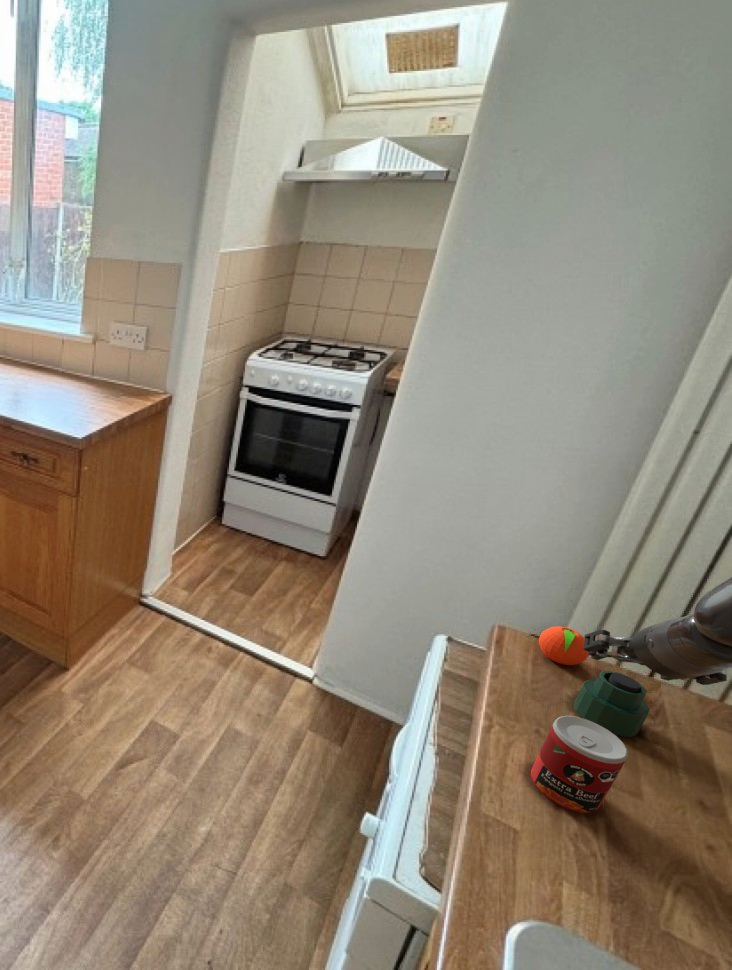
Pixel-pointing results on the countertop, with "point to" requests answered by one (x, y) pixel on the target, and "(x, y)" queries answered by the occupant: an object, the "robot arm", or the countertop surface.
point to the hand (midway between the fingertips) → (627, 663)
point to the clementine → (563, 645)
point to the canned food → (578, 764)
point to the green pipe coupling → (612, 706)
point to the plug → (624, 682)
